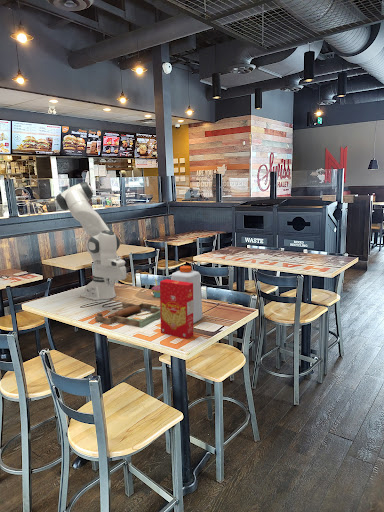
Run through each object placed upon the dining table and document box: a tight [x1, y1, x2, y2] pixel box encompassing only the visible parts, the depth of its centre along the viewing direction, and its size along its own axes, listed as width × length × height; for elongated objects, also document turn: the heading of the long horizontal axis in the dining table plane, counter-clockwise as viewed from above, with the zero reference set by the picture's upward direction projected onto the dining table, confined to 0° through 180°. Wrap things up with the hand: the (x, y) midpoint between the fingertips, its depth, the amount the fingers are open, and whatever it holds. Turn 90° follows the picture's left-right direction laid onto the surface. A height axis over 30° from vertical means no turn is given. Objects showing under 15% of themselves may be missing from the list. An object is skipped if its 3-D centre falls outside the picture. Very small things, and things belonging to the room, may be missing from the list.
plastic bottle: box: [170, 265, 204, 325], centre depth 198 cm, size 15×15×28 cm
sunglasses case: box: [106, 306, 142, 318], centre depth 207 cm, size 18×7×7 cm
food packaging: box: [159, 278, 194, 340], centre depth 178 cm, size 15×5×25 cm, turn 58°
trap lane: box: [94, 302, 161, 328], centre depth 204 cm, size 28×30×3 cm
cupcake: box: [150, 277, 160, 298], centre depth 242 cm, size 9×8×12 cm
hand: (110, 286), depth 208 cm, fingers closed
